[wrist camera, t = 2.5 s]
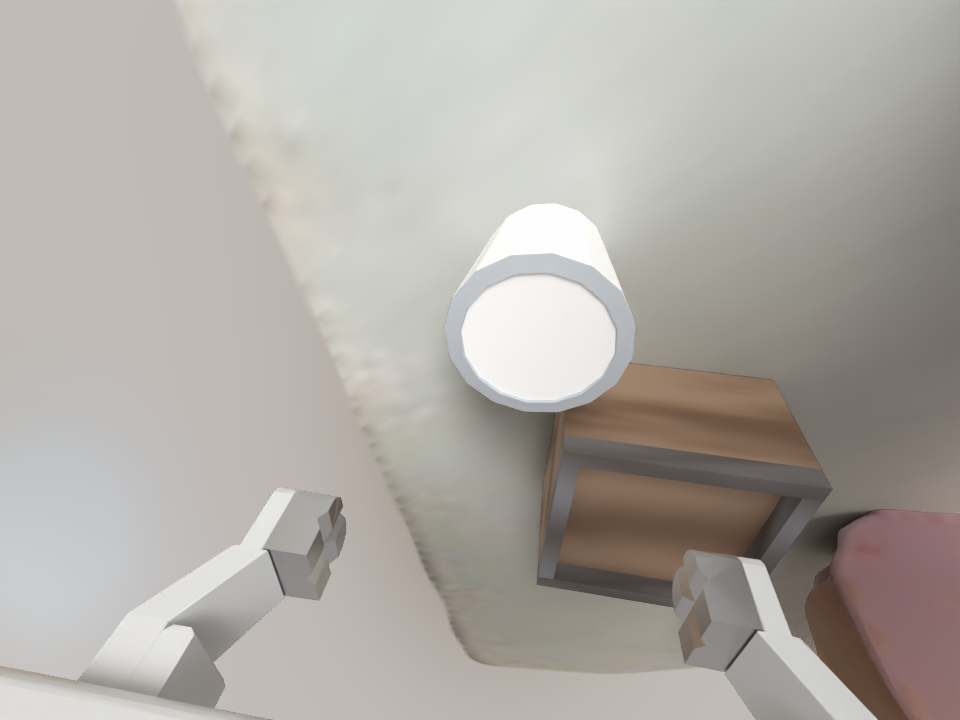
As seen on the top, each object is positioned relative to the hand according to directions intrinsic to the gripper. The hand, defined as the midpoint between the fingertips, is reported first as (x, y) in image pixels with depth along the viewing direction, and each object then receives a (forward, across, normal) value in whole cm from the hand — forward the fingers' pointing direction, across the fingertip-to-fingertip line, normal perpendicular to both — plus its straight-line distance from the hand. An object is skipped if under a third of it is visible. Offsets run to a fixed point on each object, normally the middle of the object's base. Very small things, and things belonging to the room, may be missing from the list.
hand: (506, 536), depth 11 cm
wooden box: (+15, -7, +10) cm, 19 cm away
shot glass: (+15, 0, -1) cm, 15 cm away
